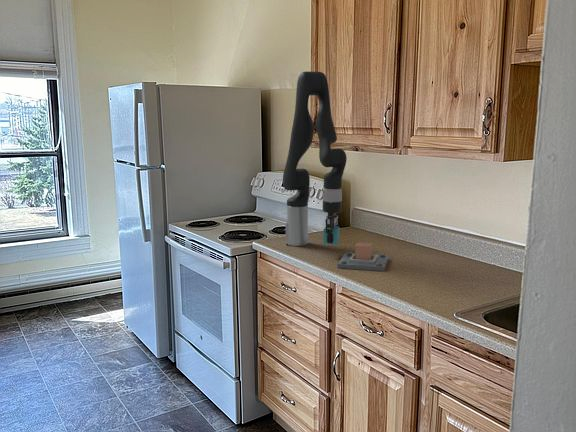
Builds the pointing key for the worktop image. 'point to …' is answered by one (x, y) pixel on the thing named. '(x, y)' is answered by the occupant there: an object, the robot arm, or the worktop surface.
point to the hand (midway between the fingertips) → (331, 241)
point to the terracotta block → (363, 251)
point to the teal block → (335, 236)
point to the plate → (363, 262)
